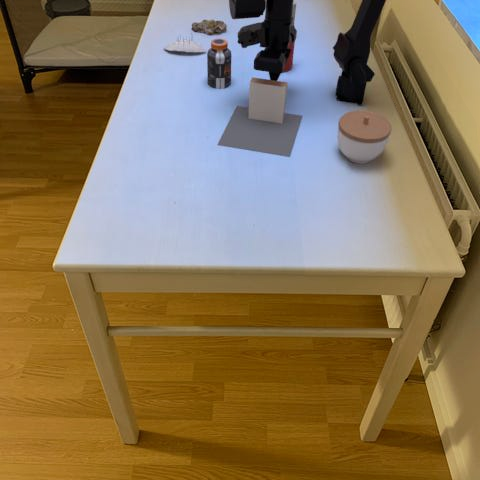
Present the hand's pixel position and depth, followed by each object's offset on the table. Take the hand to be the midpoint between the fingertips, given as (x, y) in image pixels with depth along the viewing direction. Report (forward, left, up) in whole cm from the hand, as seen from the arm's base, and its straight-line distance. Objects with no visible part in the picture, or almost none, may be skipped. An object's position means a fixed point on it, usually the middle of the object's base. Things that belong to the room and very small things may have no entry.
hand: (273, 83), depth 119 cm
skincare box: (+5, -39, -6) cm, 40 cm away
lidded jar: (-22, +15, -6) cm, 27 cm away
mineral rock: (+27, -38, -7) cm, 47 cm away
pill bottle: (+15, -6, -6) cm, 17 cm away
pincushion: (+30, -22, -6) cm, 38 cm away
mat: (0, +12, -6) cm, 13 cm away
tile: (0, +7, -6) cm, 9 cm away
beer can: (+2, -20, -6) cm, 22 cm away
